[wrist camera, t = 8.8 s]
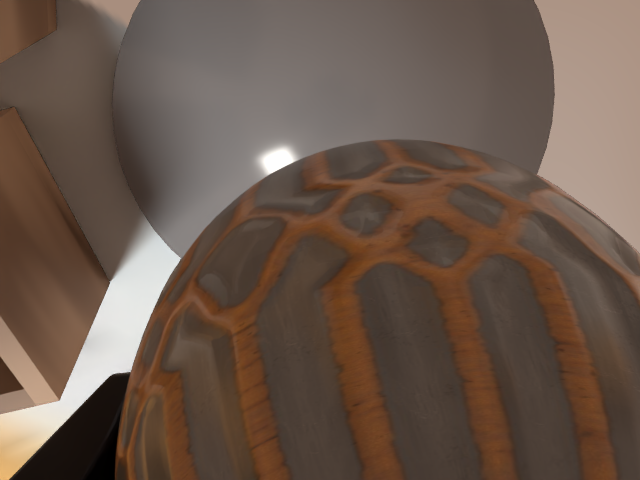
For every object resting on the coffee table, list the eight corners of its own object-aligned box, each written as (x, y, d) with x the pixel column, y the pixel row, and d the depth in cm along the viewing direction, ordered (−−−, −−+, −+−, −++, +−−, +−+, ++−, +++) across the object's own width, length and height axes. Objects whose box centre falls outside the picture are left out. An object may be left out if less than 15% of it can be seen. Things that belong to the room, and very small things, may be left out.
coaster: (518, 284, 19) (524, 294, 19) (167, 316, 19) (164, 328, 19) (580, -135, 13) (592, -136, 13) (59, -97, 13) (50, -97, 12)
